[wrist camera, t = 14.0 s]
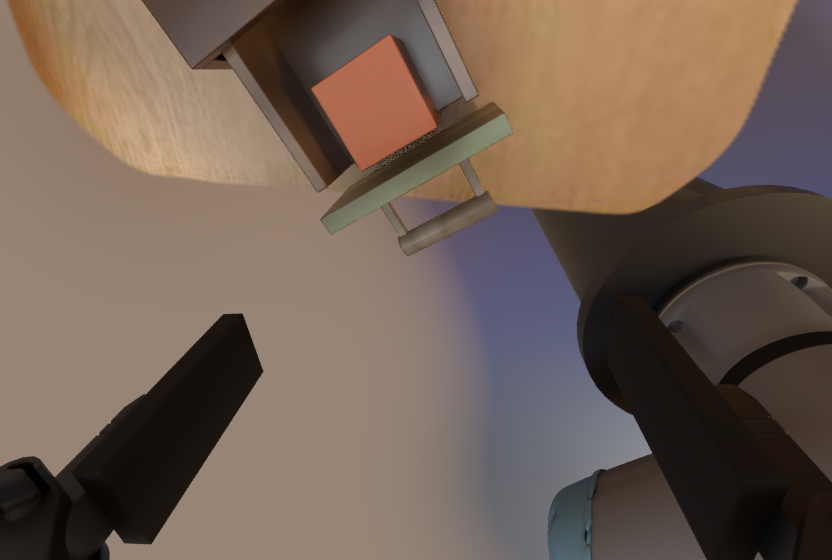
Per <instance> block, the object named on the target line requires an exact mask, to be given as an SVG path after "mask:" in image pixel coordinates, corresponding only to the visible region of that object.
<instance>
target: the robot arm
mask: <svg viewBox="0 0 832 560" xmlns="http://www.w3.org/2000/svg"><path fill="white" fill-rule="evenodd" d="M607 364H608V366H609V368H610V370H611V372H612V374H613V376H614V378H615V380H616V382H617V384H618V386H619V388H620V390H621V392H622V394H623V396H624V398H625V400H626V402H627V404H628V406H629V408H630V410H631V412H632V414H633V416H634V418H635V419H636V421H637V423H638V425H639V427H640V429H641V431H642V433H643V435H644V437H645V439H646V441H647V443H648V445H649V447H650V449H651V451H652V454H650V455H647V456H644V457H641V458H638V459H636V460H633V461H630V462H627V463H625V464H622V465H619V466H616V467H614V468H611V469H608V470H605V469H603V470H602V469H599V470H597V471H595V472H594V473H593V475H592V476H590V477H587V478H585V479H583V480H581V481H578V482H576V483H573V484H571V485H569V486H566V487H565V488H563V489H562V490H560V491H559V492H558V493H557V495H556V496H555V497H554V499H553V502H552V504H551V507H550V511H549V516H548V549H549V558H550V560H832V289H831V288H830V287H829V286H828V285H827V284H826V283H825V282H824V281H822V280H821V279H820V278H819V277H817V276H816V275H814V274H813V273H811V272H809V271H808V270H806V269H804V268H802V267H801V266H799V265H797V264H795V263H793V262H790V261H787V260H784V259H779V258H774V257H766V256H749V257H740V258H735V259H729V260H726V261H722V262H718V263H716V264H713V265H710V266H708V267H705V268H703V269H701V270H699V271H697V272H695V273H693V274H691V275H689V276H688V277H686V278H684V279H683V280H682V281H680V282H679V283H677V284H676V285H675V286H674V287H672V288H671V289H670V290H669V291H668V292H667V293H666V294H665V295H664V296H663V297H662V298H661V299H660V300H659V301H658V303H657V304H656V305H655V307H654V308H653V310H652V309H651V307H650V306H649V305H648V304H647V302H646V301H645V300H644V299H643V297H642V296H632V297H616V304H615V311H614V318H613V325H612V333H611V340H610V347H609V354H608V361H607ZM262 373H263V369H262V366H261V364H260V361H259V358H258V355H257V353H256V350H255V347H254V344H253V341H252V339H251V336H250V333H249V330H248V328H247V325H246V322H245V319H244V316H243V314H223V315H222V316H221V317H220V318H219V319H218V321H216V322H215V323H214V324H213V326H212V327H211V328H210V329H209V330H208V331H207V332H206V333H205V334H204V335H203V336H202V337H201V338H200V339H199V340H198V341H197V342H196V343H195V344H194V345H193V346H192V347H191V348H190V349H189V350H188V351H187V353H186V354H185V355H184V356H183V357H182V358H181V359H180V360H179V361H178V362H177V363H176V364H175V365H174V366H173V367H172V368H171V369H170V370H169V371H168V372H167V373H166V374H165V375H164V376H163V377H162V378H161V379H160V380H159V381H158V382H157V384H156V385H155V386H154V387H153V388H152V389H151V390H150V391H149V392H148V393H147V394H145V395H142V396H140V397H139V398H137V399H136V400H134V401H133V402H132V403H130V404H128V405H127V406H126V407H124V408H123V409H122V410H121V411H120V412H119V413H118V414H117V416H115V418H113V419H112V421H111V424H108V425H107V426H106V427H105V428H104V429H103V430H102V431H101V432H100V435H99V436H96V437H95V438H94V439H93V440H92V441H91V442H90V443H89V444H88V445H87V446H86V447H85V448H84V449H83V450H82V451H81V452H80V453H79V454H78V455H77V456H76V457H75V458H74V459H73V460H72V461H71V462H70V463H69V464H68V465H67V466H66V467H65V468H64V469H63V470H62V471H61V472H60V473H59V474H58V475H57V476H56V477H55V478H54V476H53V475H52V474H51V472H50V471H49V470H48V469H47V467H46V466H45V465H44V464H43V462H42V461H41V460H40V459H38V458H36V457H33V456H32V457H23V458H20V459H17V460H14V461H11V462H9V463H6V464H5V465H3V466H1V467H0V560H109V554H110V552H109V548H108V545H107V544H106V543H105V541H106V539H107V538H108V537H109V535H110V534H111V532H112V531H113V530H115V531H116V533H117V534H118V535H119V537H120V538H121V539H122V541H123V542H124V543H131V544H152V542H153V541H154V539H155V538H156V536H157V534H158V533H159V531H160V530H161V528H162V527H163V525H164V524H165V522H166V521H167V519H168V517H169V516H170V515H171V513H172V511H173V510H174V508H175V507H176V505H177V504H178V502H179V501H180V499H181V498H182V496H183V495H184V493H185V491H186V490H187V488H188V487H189V485H190V484H191V482H192V481H193V479H194V478H195V476H196V474H197V473H198V471H199V470H200V468H201V467H202V465H203V463H204V462H205V461H206V459H207V458H208V456H209V454H210V453H211V451H212V450H213V448H214V447H215V445H216V444H217V442H218V441H219V439H220V438H221V436H222V434H223V433H224V431H225V430H226V428H227V427H228V425H229V423H230V422H231V421H232V419H233V417H234V416H235V414H236V413H237V411H238V410H239V408H240V407H241V405H242V404H243V402H244V401H245V399H246V397H247V396H248V394H249V393H250V391H251V390H252V388H253V387H254V385H255V384H256V382H257V380H258V379H259V377H260V376H261V374H262Z"/></svg>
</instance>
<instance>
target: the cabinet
mask: <svg viewBox="0 0 832 560" xmlns="http://www.w3.org/2000/svg"><path fill="white" fill-rule="evenodd" d="M142 1H143V3H144V4H145V5H146V7H147V8H148V10H149V11H150V12H151V14H152V15H153V16H154V18H155V19H156V21H157V22H158V23H159V25H160V26H161V27H162V29H163V30H164V32H165V33H166V34H167V36H168V37H169V38H170V40H171V41H172V43H173V44H174V45H175V47H176V48H177V50H178V51H179V52H180V54H181V55H182V56H183V58H184V59H185V61H186V62H187V63H188V65H189V66H190V67H191V69H232V67H231V66H230V64H229V63H228V61H227V60H226V58H225V57H224V55H223V54H222V52H223V51H224V50H225V49H227V48H228V47H229V46H230V45H232V44H233V43H234V42H235V41H236V40H238V39H239V38H240V37H241V36H243V35H244V34H245V33H246V32H247V31H249V30H250V29H251V28H252V27H254V26H255V25H256V24H257V23H258V22H260V21H261V20H262V19H263V18H264V17H266V16H267V15H268V14H269V13H271V12H272V11H273V10H274V9H275V8H277V7H278V6H279V5H280V4H282V3H283V2H284V1H285V0H142Z"/></svg>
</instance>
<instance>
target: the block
mask: <svg viewBox="0 0 832 560" xmlns="http://www.w3.org/2000/svg"><path fill="white" fill-rule="evenodd" d="M311 90H312V91H313V93H314V95H315V96H316V98H317V100H318V101H319V103H320V105H321V106H322V108H323V109H324V111H325V113H326V114H327V116H328V118H329V119H330V121H331V123H332V124H333V126H334V127H335V129H336V131H337V132H338V134H339V136H340V137H341V139H342V141H343V142H344V144H345V145H346V147H347V149H348V150H349V152H350V154H351V155H352V157H353V159H354V160H355V162H356V164H357V165H358V167H359V168H360V170H361V171H364V170H365V169H367V168H369V167H371V166H372V165H374V164H376V163H377V162H379V161H381V160H383V159H384V158H386V157H388V156H389V155H391V154H393V153H395V152H396V151H398V150H400V149H401V148H403V147H405V146H406V145H408V144H410V143H412V142H413V141H415V140H417V139H418V138H420V137H422V136H424V135H425V134H427V133H429V132H430V131H432V130H434V129H436V128H437V126H438V123H439V120H440V115H439V113H438V111H437V109H436V107H435V105H434V103H433V101H432V99H431V97H430V95H429V93H428V91H427V89H426V87H425V85H424V83H423V81H422V79H421V77H420V75H419V73H418V71H417V69H416V67H415V65H414V63H413V61H412V59H411V57H410V55H409V53H408V51H407V49H406V47H405V45H404V43H403V41H402V40H401V39H399V38H397V37H395V36H393V35H391V34H388V35H387V36H385V37H384V38H382V39H381V40H380V41H378V42H377V43H375V44H374V45H372V46H371V47H369V48H368V49H367V50H365V51H364V52H362V53H361V54H359V55H358V56H356V57H355V58H354V59H352V60H351V61H349V62H348V63H346V64H345V65H343V66H342V67H341V68H339V69H338V70H336V71H335V72H333V73H332V74H331V75H329V76H328V77H326V78H325V79H323V80H322V81H320V82H319V83H318V84H316V85H315V86H313V87H312V88H311Z"/></svg>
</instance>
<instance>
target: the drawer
mask: <svg viewBox="0 0 832 560" xmlns="http://www.w3.org/2000/svg"><path fill="white" fill-rule="evenodd" d="M388 34H391V35H393V36H395V37H397V38H399V39H401V40H402V41H403V43H404V45H405V47H406V49H407V51H408V53H409V55H410V57H411V59H412V61H413V63H414V65H415V67H416V69H417V71H418V73H419V75H420V77H421V79H422V81H423V83H424V85H425V87H426V89H427V91H428V93H429V95H430V97H431V99H432V101H433V103H434V105H435V107H436V109H437V111H438V112H439V111H440V110H442V109H443V108H445V107H447V106H448V105H450V104H452V103H453V102H455V101H457V100H458V99H460V98H461V97H463V98H464V100H465V102H466V103H467V102H469V101H470V100H472V99H474V98H475V97H477V96H478V95H479V93H478V91H477V89H476V87H475V85H474V82H473V80H472V78H471V76H470V74H469V72H468V70H467V67H466V65H465V63H464V61H463V59H462V57H461V55H460V52H459V50H458V48H457V46H456V44H455V42H454V40H453V37H452V35H451V33H450V31H449V29H448V27H447V25H446V22H445V20H444V18H443V16H442V14H441V12H440V10H439V7H438V5H437V3H436V1H435V0H285V1H284V2H283V3H282V4H280V5H279V6H278V7H277V8H275V9H274V10H273V11H272V12H271V13H269V14H268V15H267V16H266V17H264V18H263V19H262V20H261V21H260V22H258V23H257V24H256V25H255V26H254V27H252V28H251V29H250V30H249V31H247V32H246V33H245V34H244V35H243V36H241V37H240V38H239V39H238V40H236V41H235V42H234V43H233V44H232V45H230V46H229V47H228V48H227V49H225V50H224V51H223V52H222V54H223V55H224V57H225V58H226V60H227V61H228V63H229V64H230V66H231V67H232V69H233V70H234V71H235V73H236V74H237V76H238V77H239V79H240V80H241V82H242V83H243V85H244V86H245V88H246V89H247V90H248V92H249V93H250V95H251V96H252V98H253V99H254V101H255V102H256V104H257V105H258V106H259V108H260V109H261V111H262V112H263V114H264V115H265V117H266V118H267V120H268V121H269V123H270V124H271V125H272V127H273V128H274V130H275V131H276V133H277V134H278V136H279V137H280V139H281V140H282V141H283V143H284V144H285V146H286V147H287V149H288V150H289V152H290V153H291V155H292V156H293V157H294V159H295V160H296V162H297V163H298V165H299V166H300V168H301V169H302V171H303V172H304V174H305V175H306V176H307V178H308V179H309V181H310V182H311V184H312V185H313V187H314V188H315V190H316V191H317V192H320V191H322V190H324V189H325V188H327V187H328V186H329V185H330V184H331V183H332V182H333V181H335V180H336V179H337V178H338V177H339V176H340V175H341V174H342V173H343V172H344V171H345V170H347V169H348V168H349V167H350V166H351V165H352V164H354V163H355V160H354V159H353V157H352V155H351V154H350V152H349V150H348V149H347V147H346V145H345V144H344V142H343V141H342V139H341V137H340V136H339V134H338V132H337V131H336V129H335V127H334V126H333V124H332V123H331V121H330V119H329V118H328V116H327V114H326V113H325V111H324V109H323V108H322V106H321V105H320V103H319V101H318V100H317V98H316V96H315V95H314V93H313V91H312V90H311V88H312V87H313V86H315V85H316V84H318V83H319V82H320V81H322V80H323V79H325V78H326V77H328V76H329V75H331V74H332V73H333V72H335V71H336V70H338V69H339V68H341V67H342V66H343V65H345V64H346V63H348V62H349V61H351V60H352V59H354V58H355V57H356V56H358V55H359V54H361V53H362V52H364V51H365V50H367V49H368V48H369V47H371V46H372V45H374V44H375V43H377V42H378V41H380V40H381V39H382V38H384V37H385V36H387V35H388ZM512 133H514V131H513V129H512V127H511V125H510V122H509V120H508V118H507V116H506V113H505V112H504V111H502V110H501V109H500V108H499V107H498V106H497V105H496V104H495V103H494V102H491V103H490V104H488V105H486V106H485V107H483V108H481V109H480V110H478V111H476V112H475V113H473V114H471V115H469V116H468V117H466V118H464V119H463V120H461V121H459V122H458V123H456V124H454V125H453V126H451V127H449V128H448V129H446V130H444V131H443V132H441V133H439V134H438V135H436V136H434V137H432V138H431V139H429V140H427V141H426V142H424V143H422V144H421V145H419V146H417V147H416V148H414V149H412V150H411V151H409V152H407V153H406V154H404V155H402V156H400V157H399V158H397V159H395V160H394V161H392V162H390V163H389V164H387V165H385V166H384V167H382V168H380V169H379V170H377V171H375V172H374V173H372V174H370V175H369V176H367V177H365V178H363V179H362V180H360V181H358V182H357V183H355V184H353V185H352V186H350V187H349V188H348V189H347V190H346V191H345V192H344V194H343V195H342V196H341V197H340V198H339V199H338V200H337V201H336V202H335V203H334V205H333V206H332V207H331V208H330V209H329V210H328V211H327V212H326V214H325V215H324V216H323V217H322V218H321V219H320V220H321V222H322V223H323V225H324V226H325V227H326V229H327V230H328V232H329V233H330V234H333V233H335V232H337V231H339V230H340V229H342V228H344V227H346V226H348V225H350V224H351V223H353V222H355V221H357V220H358V219H360V218H362V217H364V216H366V215H367V214H369V213H371V212H373V211H375V210H376V209H378V208H380V207H381V208H382V210H383V211H384V213H385V214H386V216H387V218H388V219H389V221H390V222H391V224H392V226H393V227H394V229H395V230H396V232H397V234H398V235H399V237H398V241H399V244H400V247H401V249H402V251H403V252H404V253H405V254H406V255H407V256H410V255H412V254H414V253H416V252H418V251H420V250H422V249H424V248H426V247H428V246H430V245H432V244H434V243H436V242H438V241H440V240H442V239H444V238H446V237H448V236H450V235H452V234H454V233H456V232H458V231H460V230H462V229H464V228H466V227H468V226H470V225H472V224H474V223H476V222H478V221H480V220H482V219H484V218H486V217H488V216H490V215H492V214H494V213H496V212H497V207H496V205H495V203H494V201H493V199H492V197H491V195H490V193H489V191H484V189H483V187H482V185H481V183H480V181H479V179H478V177H477V175H476V173H475V171H474V169H473V167H472V165H471V163H470V161H469V159H468V158H469V157H471V156H473V155H475V154H477V153H478V152H480V151H482V150H484V149H486V148H487V147H489V146H491V145H493V144H495V143H496V142H498V141H500V140H502V139H504V138H505V137H507V136H509V135H511V134H512ZM457 164H460V166H461V168H462V170H463V172H464V173H465V175H466V177H467V179H468V181H469V183H470V185H471V187H472V189H473V191H474V193H475V195H476V196H475V197H473V198H471V199H469V200H467V201H465V202H463V203H462V204H460V205H458V206H456V207H454V208H452V209H450V210H448V211H446V212H444V213H442V214H441V215H439V216H437V217H435V218H433V219H431V220H429V221H427V222H425V223H423V224H421V225H419V226H418V227H416V228H414V229H412V230H410V231H408V232H407V229H406V228H405V226H404V225H403V223H402V221H401V219H400V218H399V216H398V215H397V213H396V211H395V210H394V208H393V207H392V205H391V203H390V202H391V201H392V200H394V199H396V198H398V197H400V196H401V195H403V194H405V193H407V192H409V191H410V190H412V189H414V188H416V187H418V186H419V185H421V184H423V183H425V182H427V181H428V180H430V179H432V178H434V177H435V176H437V175H439V174H441V173H443V172H444V171H446V170H448V169H450V168H452V167H453V166H455V165H457Z"/></svg>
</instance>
